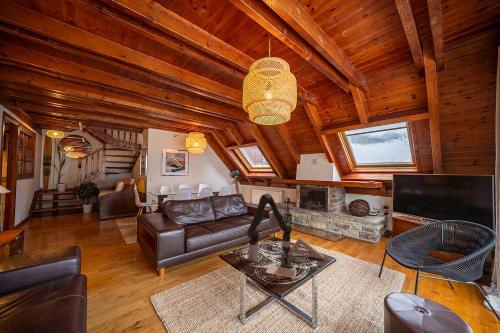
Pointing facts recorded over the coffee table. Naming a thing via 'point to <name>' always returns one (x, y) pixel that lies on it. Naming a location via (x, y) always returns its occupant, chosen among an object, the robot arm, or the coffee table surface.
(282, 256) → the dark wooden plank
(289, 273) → the well board
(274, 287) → the coffee table surface
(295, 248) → the wall bracket
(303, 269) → the coffee table surface
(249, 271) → the coffee table surface
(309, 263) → the coffee table surface
